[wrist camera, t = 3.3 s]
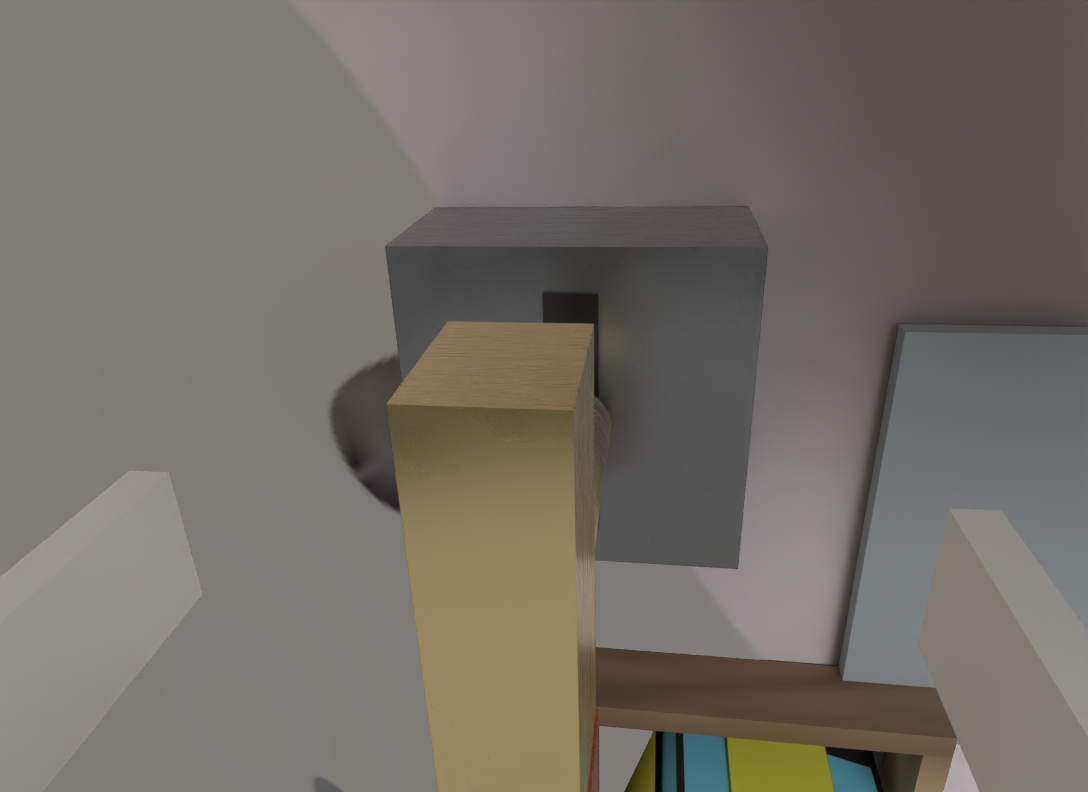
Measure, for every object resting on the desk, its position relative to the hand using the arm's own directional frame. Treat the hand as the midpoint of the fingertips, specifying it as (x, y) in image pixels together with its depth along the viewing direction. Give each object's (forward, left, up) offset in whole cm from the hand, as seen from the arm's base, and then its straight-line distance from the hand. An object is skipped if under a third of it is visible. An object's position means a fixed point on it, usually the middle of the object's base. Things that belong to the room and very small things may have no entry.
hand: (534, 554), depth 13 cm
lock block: (0, 0, -9) cm, 9 cm away
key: (0, 0, -5) cm, 5 cm away
